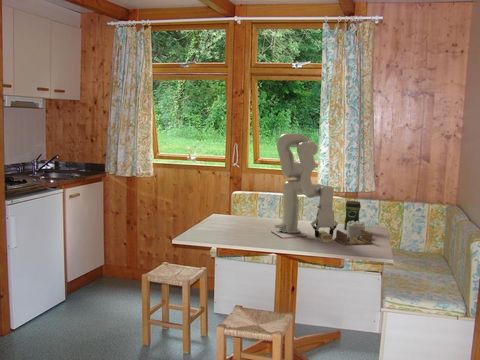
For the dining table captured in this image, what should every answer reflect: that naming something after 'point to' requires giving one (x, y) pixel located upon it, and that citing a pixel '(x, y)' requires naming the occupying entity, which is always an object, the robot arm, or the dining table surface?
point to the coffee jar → (352, 212)
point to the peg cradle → (360, 240)
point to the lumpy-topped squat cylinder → (354, 228)
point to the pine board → (325, 236)
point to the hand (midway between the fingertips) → (323, 236)
